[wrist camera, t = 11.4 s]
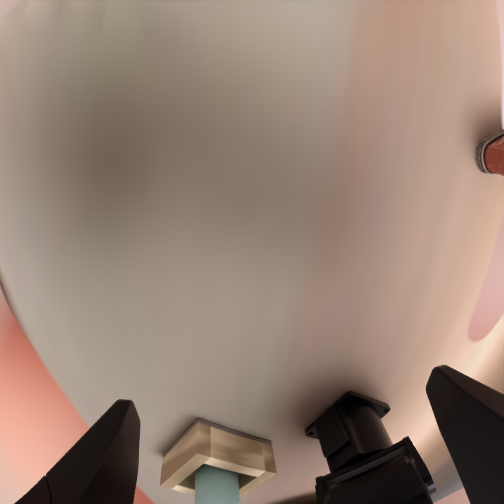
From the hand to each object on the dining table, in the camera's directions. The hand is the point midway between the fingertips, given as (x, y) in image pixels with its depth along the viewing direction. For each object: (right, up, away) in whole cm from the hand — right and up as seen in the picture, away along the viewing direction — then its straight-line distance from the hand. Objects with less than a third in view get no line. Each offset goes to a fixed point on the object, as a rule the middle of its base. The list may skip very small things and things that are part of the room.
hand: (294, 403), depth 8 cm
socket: (-5, -16, +20) cm, 25 cm away
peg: (-5, -16, +19) cm, 25 cm away
